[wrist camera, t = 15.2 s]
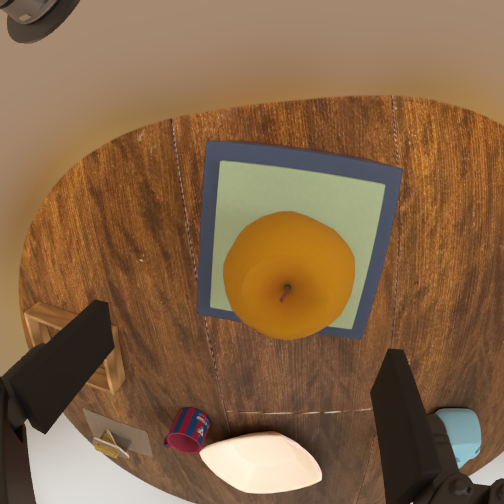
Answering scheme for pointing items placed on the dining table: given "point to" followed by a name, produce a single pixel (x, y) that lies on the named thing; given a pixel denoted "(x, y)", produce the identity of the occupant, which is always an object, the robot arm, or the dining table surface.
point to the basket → (59, 319)
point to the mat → (301, 201)
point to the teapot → (462, 432)
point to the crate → (302, 161)
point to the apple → (288, 275)
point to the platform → (117, 436)
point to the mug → (188, 431)
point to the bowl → (262, 463)
